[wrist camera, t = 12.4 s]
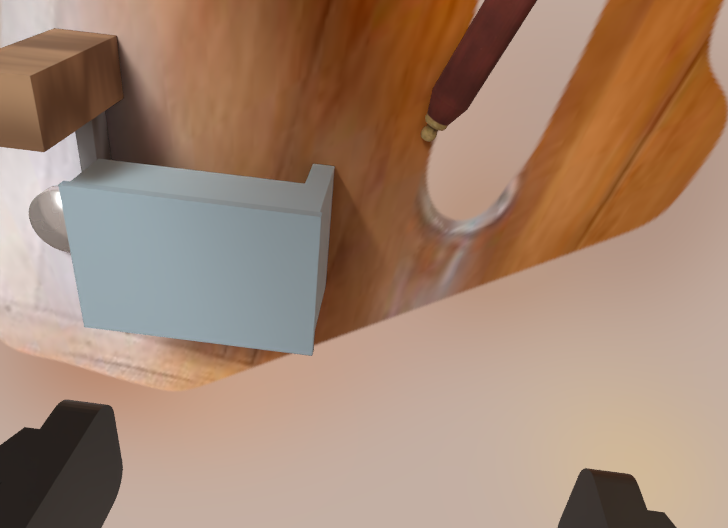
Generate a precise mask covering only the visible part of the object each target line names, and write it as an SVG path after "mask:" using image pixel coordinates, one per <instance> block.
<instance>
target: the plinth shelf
mask: <svg viewBox="0 0 728 528" xmlns="http://www.w3.org/2000/svg"><path fill="white" fill-rule="evenodd" d="M334 168H335V166H329V165H321V164H313V165H312V168H311V170H310V172H309V175H308V177H307V180H306V182H305V183H296V182H288V181H280V180H271V179H263V178H255V177H247V176H238V175H230V174H222V173H214V172H205V171H197V170H189V169H181V168H172V167H164V166H156V165H147V164H139V163H131V162H123V161H114V160H106V159H97V160H96V161H95V162H94V163H93V164H91V165H90V166H89V167H88V168H87V169H85V170H84V171H83V172H82V173H80V174H79V175H78V176H77V177H76V178H74V179H73V180H72V181H71V182H69V181H63V182H61V183H60V184H59V185H58V187H59V192H60V197H61V203H62V208H63V214H64V219H65V225H66V230H67V235H68V241H69V246H70V252H71V257H72V263H73V268H74V273H75V279H76V284H77V290H78V295H79V301H80V306H81V311H82V317H83V322H84V327H88V328H96V329H104V330H112V331H120V332H128V333H136V334H143V335H151V336H159V337H167V338H175V339H183V340H191V341H199V342H207V343H215V344H222V345H230V346H238V347H246V348H254V349H262V350H270V351H278V352H286V353H294V354H302V355H309V356H312V355H313V350H314V336H315V328H316V324H317V320H318V316H319V312H320V308H321V304H322V300H323V295H324V291H325V287H326V276H327V263H328V249H329V236H330V222H331V209H332V195H333V181H334Z"/></svg>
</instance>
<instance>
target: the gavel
mask: <svg viewBox="0 0 728 528" xmlns="http://www.w3.org/2000/svg"><path fill="white" fill-rule="evenodd" d="M536 1H537V0H485V1H484V3H483V4H482V6H481V8H480V9H479V11H478V13H477V14H476V16H475V18H474V19H473V21H472V23H471V25H470V26H469V28H468V30H467V31H466V33H465V35H464V36H463V38H462V40H461V42H460V43H459V45H458V47H457V48H456V50H455V52H454V53H453V55H452V57H451V58H450V60H449V62H448V64H447V65H446V67H445V69H444V70H443V72H442V74H441V75H440V77H439V79H438V81H437V82H436V84H435V86H434V87H433V90H432V94H431V99H430V104H429V108H428V112H427V114H426V116H425V120H426V122H427V123H428V124H427V126H425V127H424V128H423V129H422V131H421V137H422V138H423V139H424V140H425V141H428V142H431V141H433V140H434V139H435V137H436V135H437V131H438V130H441V131H442V130H444V129H446V128H447V126H448V125H449V124H450V123H451V122H453V121H454V120H455V119H456V118H457V117H459V116H460V115H461V114H462V113H464V112H465V111H466V110H467V109H468V107H469V106H470V104H471V103H472V101H473V100H474V98H475V96H476V95H477V93H478V92H479V90H480V88H481V87H482V86H483V84H484V82H485V81H486V79H487V78H488V76H489V75H490V73H491V71H492V70H493V68H494V67H495V65H496V64H497V62H498V61H499V59H500V57H501V56H502V54H503V53H504V51H505V50H506V48H507V46H508V45H509V43H510V42H511V40H512V39H513V37H514V36H515V34H516V32H517V31H518V29H519V28H520V26H521V25H522V23H523V21H524V20H525V18H526V17H527V15H528V13H529V12H530V11H531V9H532V7H533V6H534V4H535V3H536Z"/></svg>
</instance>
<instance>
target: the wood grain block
mask: <svg viewBox="0 0 728 528" xmlns="http://www.w3.org/2000/svg"><path fill="white" fill-rule="evenodd" d="M121 99H123V89H122V80H121V71H120V63H119V54H118V45H117V36H115V35H106V34H98V33H89V32H81V31H73V30H64V29H56V28H54V29H52V30H49V31H46V32H43V33H41V34H38V35H35V36H33V37H30V38H27V39H24V40H22V41H19V42H16V43H14V44H11V45H8V46H5V47H3V48H0V147H7V148H15V149H23V150H31V151H40V152H45V151H47V150H48V149H50V148H51V147H53V146H54V145H56V144H57V143H58V142H60V141H61V140H63V139H64V138H66V137H67V136H69V135H70V134H72V133H73V132H75V133H76V139H77V145H78V152H79V158H80V164H81V170H82V172H83V171H84V170H85V169H87V168H88V167H89V166H90V165H91V164H93V163H94V162H95V161H96V160H97V159H106V160H111V153H110V146H109V138H108V131H107V123H106V115H105V110H107V109H108V108H110V107H111V106H113V105H114V104H115V103H117V102H118V101H120V100H121Z"/></svg>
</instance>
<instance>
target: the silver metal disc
mask: <svg viewBox="0 0 728 528" xmlns="http://www.w3.org/2000/svg"><path fill="white" fill-rule="evenodd" d="M29 219H30V222H31V225H32V227H33V229H34V230H35V232H36V233H37V235H38V236H39V237H40V238H41V239H42V240H43V241H45V242H46V243H47V244H49V245H50V246H52V247H54V248H56V249H59V250H62V251H66V252H70V246H69V241H68V235H67V230H66V225H65V219H64V214H63V208H62V203H61V197H60V192H59V187H58V186H52V187H50V188H48V189H46V190H44V191H43V192H42V193H41V194H39V195H38V196H37V197H36V198H34V200H33V201H32V203H31V205H30V208H29Z"/></svg>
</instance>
